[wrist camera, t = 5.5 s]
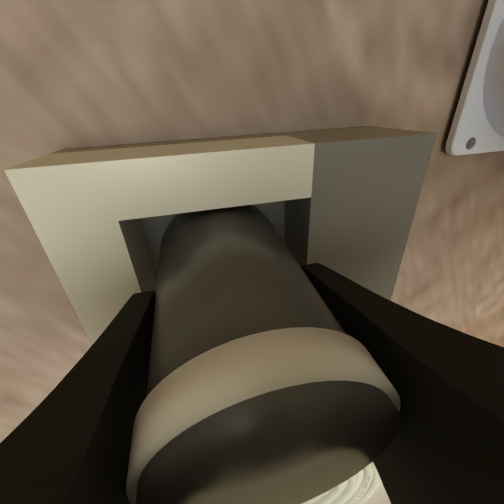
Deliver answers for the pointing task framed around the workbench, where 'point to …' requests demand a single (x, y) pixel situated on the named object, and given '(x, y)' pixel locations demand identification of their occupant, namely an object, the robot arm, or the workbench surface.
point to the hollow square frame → (223, 204)
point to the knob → (250, 375)
